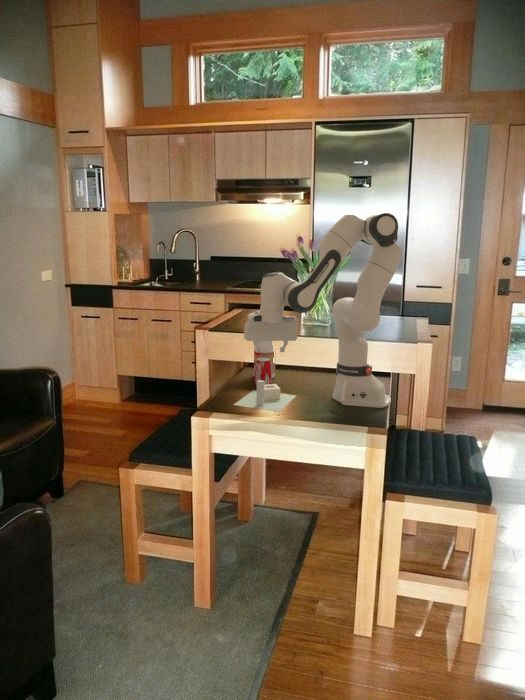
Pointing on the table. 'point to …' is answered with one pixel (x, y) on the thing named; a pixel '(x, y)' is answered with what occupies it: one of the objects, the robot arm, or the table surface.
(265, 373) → the soda can
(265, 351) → the fruit juice
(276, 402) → the post board
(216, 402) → the table surface
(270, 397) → the square collar
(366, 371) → the robot arm
